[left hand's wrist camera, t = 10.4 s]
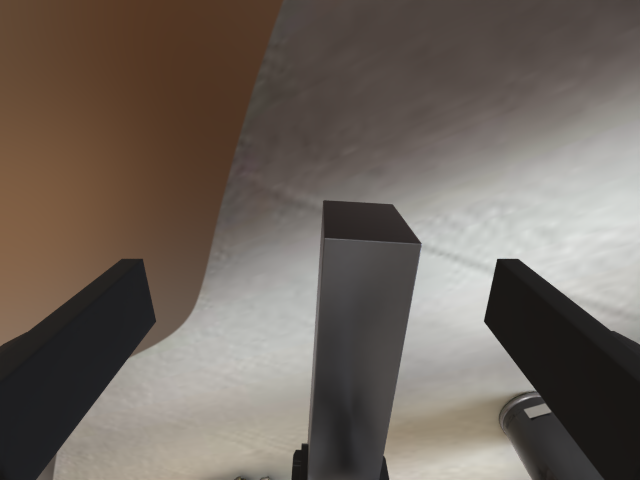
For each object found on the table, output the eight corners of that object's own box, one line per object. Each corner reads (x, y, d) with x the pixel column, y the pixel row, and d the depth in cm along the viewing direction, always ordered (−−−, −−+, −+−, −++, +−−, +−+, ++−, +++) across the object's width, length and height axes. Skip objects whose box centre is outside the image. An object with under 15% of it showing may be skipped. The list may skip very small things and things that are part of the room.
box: (323, 200, 27) (324, 238, 19) (393, 204, 28) (422, 243, 20) (307, 439, 37) (304, 529, 29) (359, 441, 37) (369, 532, 29)
